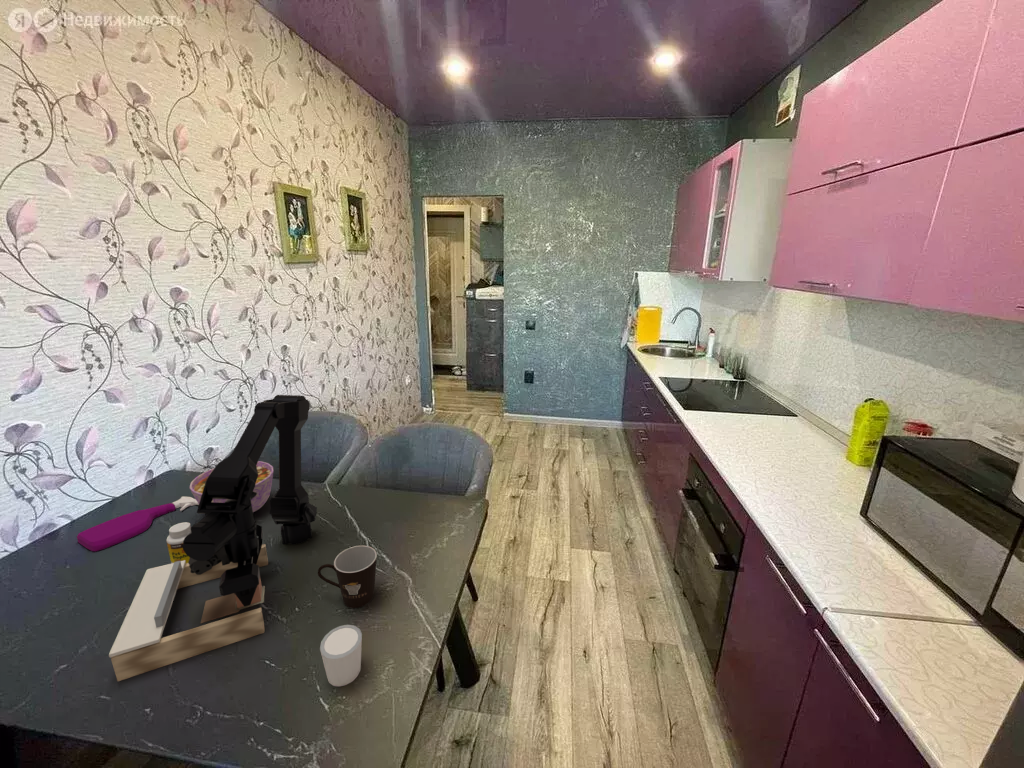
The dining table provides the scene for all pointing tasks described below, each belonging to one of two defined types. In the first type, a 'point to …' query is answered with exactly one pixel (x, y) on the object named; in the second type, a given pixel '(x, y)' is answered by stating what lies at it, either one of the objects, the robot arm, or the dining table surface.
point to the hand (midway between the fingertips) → (248, 589)
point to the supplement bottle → (178, 542)
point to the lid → (149, 609)
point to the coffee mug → (354, 575)
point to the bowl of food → (260, 488)
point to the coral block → (255, 598)
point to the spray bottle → (127, 525)
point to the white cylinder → (342, 654)
